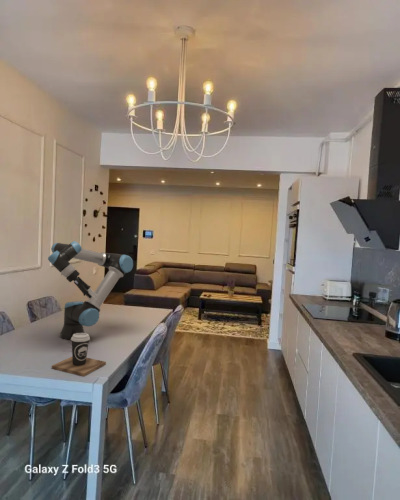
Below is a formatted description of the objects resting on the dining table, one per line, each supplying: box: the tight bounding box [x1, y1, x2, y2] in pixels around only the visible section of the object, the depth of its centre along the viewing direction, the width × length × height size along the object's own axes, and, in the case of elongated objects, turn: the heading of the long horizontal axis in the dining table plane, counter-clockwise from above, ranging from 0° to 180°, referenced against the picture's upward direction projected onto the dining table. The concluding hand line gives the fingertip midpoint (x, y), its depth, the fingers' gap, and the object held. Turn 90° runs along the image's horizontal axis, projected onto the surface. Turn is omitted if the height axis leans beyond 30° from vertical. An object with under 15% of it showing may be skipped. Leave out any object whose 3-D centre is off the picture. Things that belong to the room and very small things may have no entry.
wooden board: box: [51, 356, 107, 377], centre depth 183 cm, size 20×18×2 cm
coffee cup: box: [70, 332, 91, 366], centre depth 183 cm, size 10×10×15 cm
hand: (95, 299), depth 213 cm, fingers open, 13 cm apart
